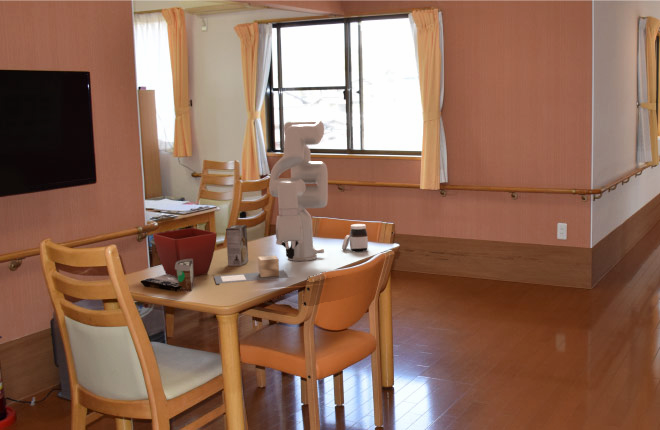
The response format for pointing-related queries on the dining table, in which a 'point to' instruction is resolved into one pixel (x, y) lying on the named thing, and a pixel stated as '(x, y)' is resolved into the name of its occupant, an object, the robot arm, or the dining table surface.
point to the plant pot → (185, 249)
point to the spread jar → (356, 238)
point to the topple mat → (245, 277)
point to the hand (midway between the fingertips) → (290, 258)
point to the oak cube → (268, 266)
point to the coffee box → (237, 245)
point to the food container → (185, 274)
